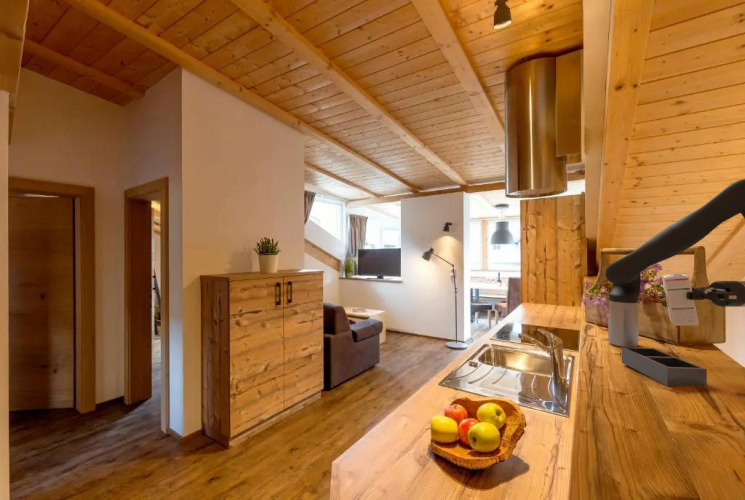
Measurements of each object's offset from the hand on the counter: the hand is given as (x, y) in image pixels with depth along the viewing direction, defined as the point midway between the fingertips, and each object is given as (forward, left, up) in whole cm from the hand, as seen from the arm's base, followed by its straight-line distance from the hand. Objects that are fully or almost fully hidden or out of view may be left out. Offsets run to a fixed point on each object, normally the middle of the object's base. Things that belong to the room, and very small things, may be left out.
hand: (675, 293), depth 96 cm
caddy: (+1, -5, -24) cm, 24 cm away
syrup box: (0, +2, -9) cm, 9 cm away
